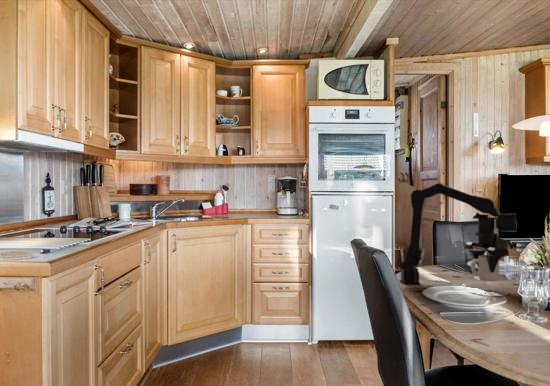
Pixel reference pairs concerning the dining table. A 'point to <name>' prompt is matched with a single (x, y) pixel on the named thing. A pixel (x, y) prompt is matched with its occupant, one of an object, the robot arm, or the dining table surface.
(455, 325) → the dining table surface
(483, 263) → the cup
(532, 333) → the dining table surface
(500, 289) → the saucer
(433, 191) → the robot arm
